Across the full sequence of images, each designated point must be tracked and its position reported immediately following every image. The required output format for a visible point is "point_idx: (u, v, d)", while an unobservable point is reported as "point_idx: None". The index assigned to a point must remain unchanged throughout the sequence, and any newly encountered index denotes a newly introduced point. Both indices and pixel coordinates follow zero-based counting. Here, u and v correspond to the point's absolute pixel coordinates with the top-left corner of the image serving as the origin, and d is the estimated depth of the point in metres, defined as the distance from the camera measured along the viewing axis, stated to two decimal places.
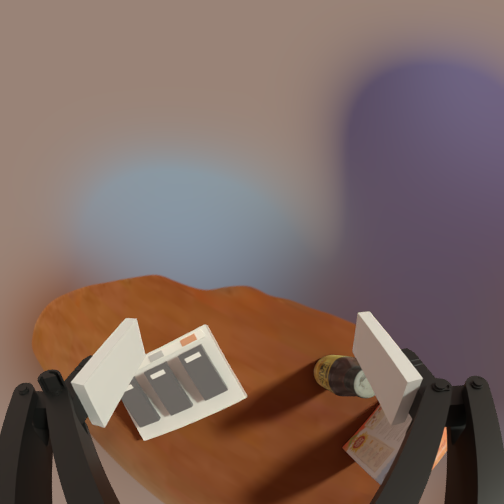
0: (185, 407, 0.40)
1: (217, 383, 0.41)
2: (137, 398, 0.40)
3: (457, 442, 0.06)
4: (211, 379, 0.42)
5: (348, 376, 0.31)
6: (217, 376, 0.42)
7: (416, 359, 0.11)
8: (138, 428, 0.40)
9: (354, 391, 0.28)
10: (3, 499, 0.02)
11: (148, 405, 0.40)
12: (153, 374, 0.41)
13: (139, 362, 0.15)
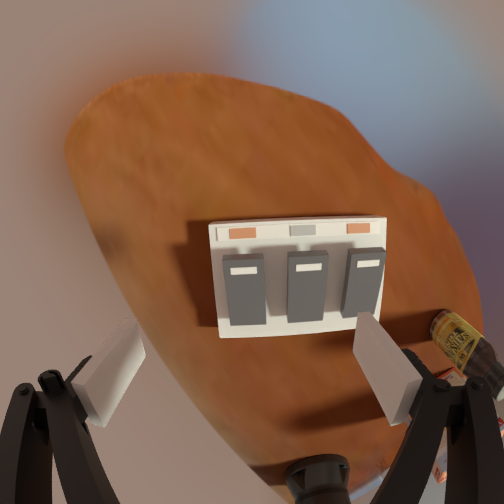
0: (313, 318, 0.33)
1: (370, 303, 0.32)
2: (253, 289, 0.31)
3: (457, 442, 0.06)
4: (368, 297, 0.31)
5: (494, 371, 0.22)
6: (376, 296, 0.31)
7: (416, 359, 0.11)
8: (220, 320, 0.35)
9: (497, 392, 0.20)
10: (3, 499, 0.02)
11: (264, 302, 0.32)
12: (302, 265, 0.29)
13: (139, 362, 0.15)
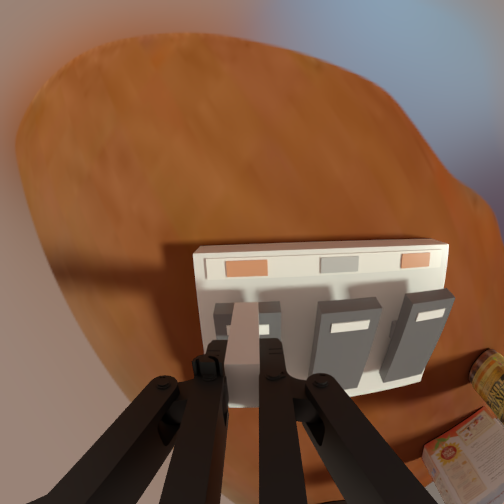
0: (345, 387, 0.21)
1: (421, 362, 0.20)
2: None
3: (324, 443, 0.08)
4: (420, 355, 0.19)
5: None
6: (430, 353, 0.19)
7: (279, 348, 0.13)
8: None
9: None
10: (74, 492, 0.04)
11: None
12: (341, 323, 0.17)
13: None
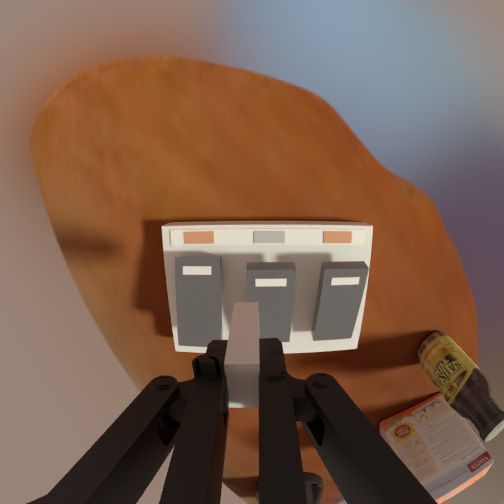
0: None
1: (347, 326, 0.27)
2: (207, 295, 0.26)
3: (324, 443, 0.08)
4: (344, 319, 0.27)
5: (486, 409, 0.18)
6: (354, 318, 0.27)
7: (279, 348, 0.13)
8: (175, 332, 0.30)
9: (486, 434, 0.16)
10: (74, 492, 0.04)
11: (219, 315, 0.26)
12: (263, 279, 0.25)
13: None
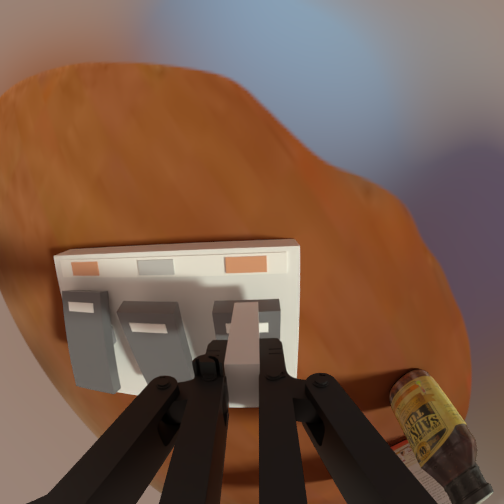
0: None
1: None
2: (92, 335, 0.19)
3: (324, 443, 0.08)
4: None
5: (464, 482, 0.10)
6: None
7: (279, 348, 0.13)
8: None
9: None
10: (74, 492, 0.04)
11: (106, 358, 0.19)
12: (138, 324, 0.18)
13: None
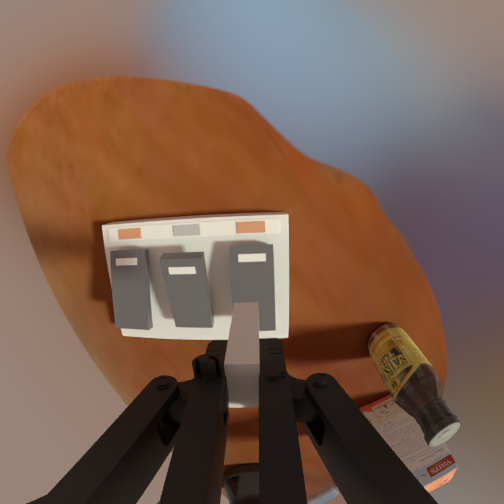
0: (202, 325, 0.30)
1: (266, 313, 0.28)
2: (134, 283, 0.29)
3: (324, 444, 0.08)
4: (261, 303, 0.28)
5: (431, 410, 0.20)
6: (272, 303, 0.28)
7: (279, 348, 0.13)
8: None
9: (429, 439, 0.18)
10: (74, 492, 0.04)
11: (145, 300, 0.29)
12: (174, 268, 0.27)
13: None
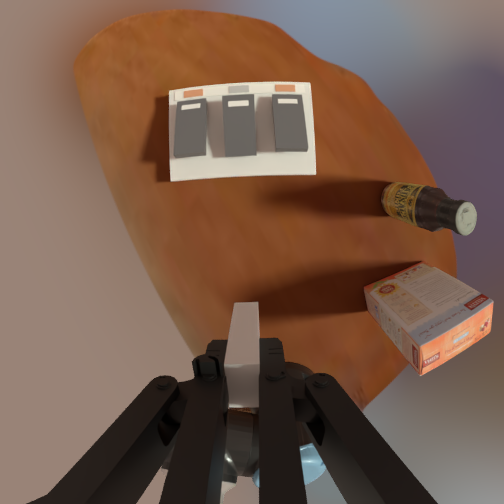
0: (248, 152, 0.37)
1: (300, 135, 0.35)
2: (196, 119, 0.35)
3: (324, 444, 0.08)
4: (296, 128, 0.35)
5: (446, 202, 0.27)
6: (304, 129, 0.35)
7: (279, 348, 0.13)
8: (171, 163, 0.39)
9: (454, 217, 0.24)
10: (74, 492, 0.04)
11: (204, 130, 0.35)
12: (233, 101, 0.34)
13: None
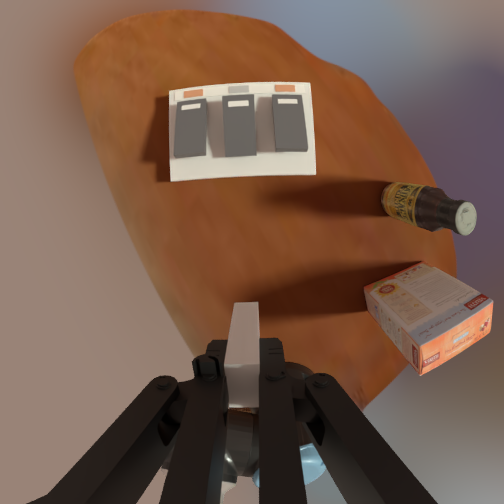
0: (248, 153, 0.37)
1: (300, 136, 0.35)
2: (196, 119, 0.35)
3: (324, 443, 0.08)
4: (296, 129, 0.35)
5: (446, 202, 0.27)
6: (304, 129, 0.35)
7: (279, 348, 0.13)
8: (172, 164, 0.39)
9: (454, 217, 0.24)
10: (74, 492, 0.04)
11: (204, 130, 0.35)
12: (233, 101, 0.34)
13: None
